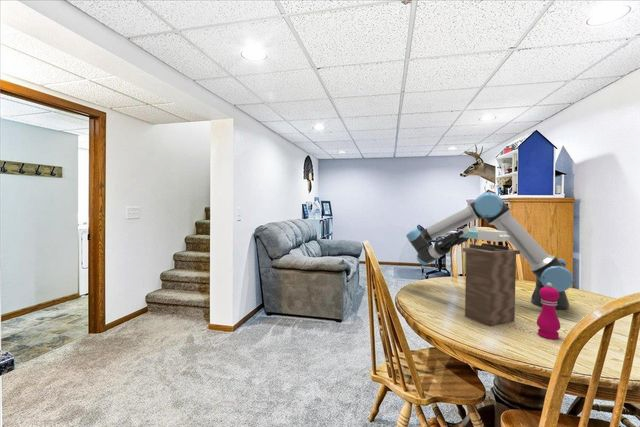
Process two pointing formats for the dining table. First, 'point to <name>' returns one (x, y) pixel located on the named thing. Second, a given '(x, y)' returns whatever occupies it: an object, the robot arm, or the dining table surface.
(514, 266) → the wood-grain storage bin
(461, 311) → the dining table surface
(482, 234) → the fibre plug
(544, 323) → the pepper mill
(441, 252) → the robot arm
